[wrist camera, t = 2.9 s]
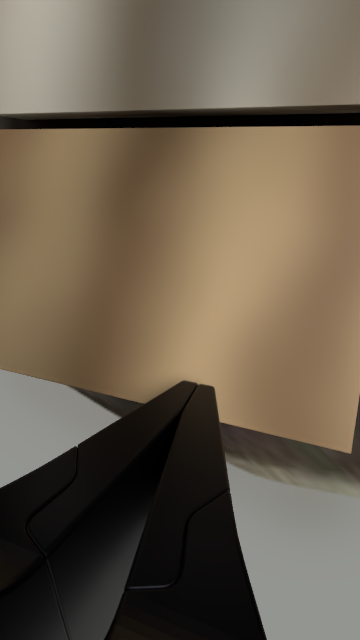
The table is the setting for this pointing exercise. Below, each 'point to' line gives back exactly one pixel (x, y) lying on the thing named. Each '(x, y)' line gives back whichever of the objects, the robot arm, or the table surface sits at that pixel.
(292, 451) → the table surface
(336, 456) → the table surface
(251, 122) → the table surface
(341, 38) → the ash board
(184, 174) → the oak plank
